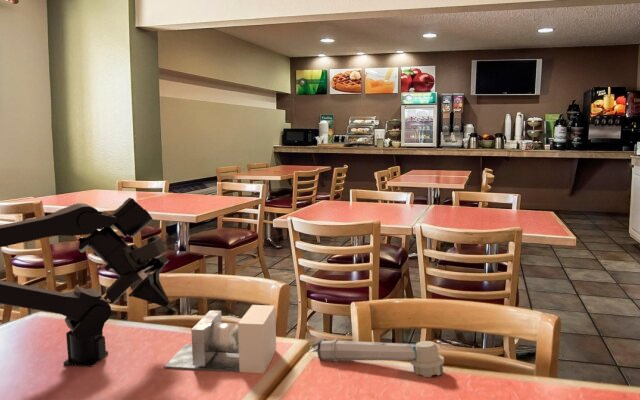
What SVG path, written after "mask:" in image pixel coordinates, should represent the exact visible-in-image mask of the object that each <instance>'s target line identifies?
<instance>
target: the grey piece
mask: <svg viewBox="0 0 640 400" xmlns="http://www.w3.org/2000/svg"><path fill="white" fill-rule="evenodd" d="M222 317H223V316H222V310H209V311H208V312H207V313H206V314H205V315H204V316H203V317H201V319H200V320H199V321H198V322H197V323H196V324H195V325H194V326H193V327H192V328H191V329H190V331H191V344H192V356H193V366H205V365H206V364H207V363H208V362H209V360H210V359H211V358H212V357H213V355H214V354H215V353H216V352H218V353H239V339H238V323H239V322H238V323H236V322H234V323H233V322H222Z"/></svg>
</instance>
